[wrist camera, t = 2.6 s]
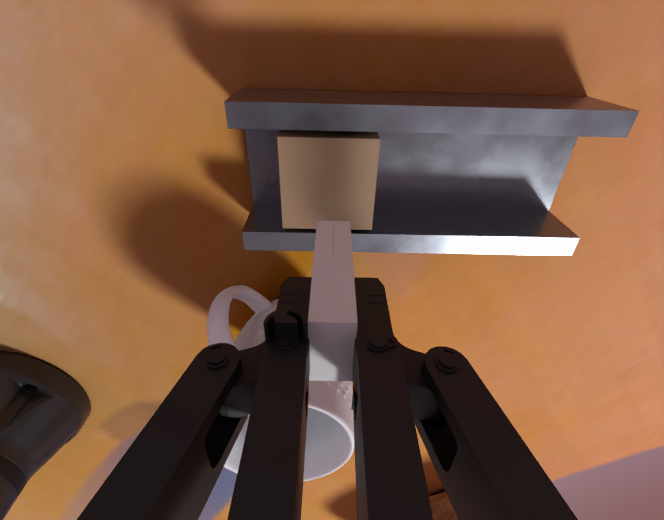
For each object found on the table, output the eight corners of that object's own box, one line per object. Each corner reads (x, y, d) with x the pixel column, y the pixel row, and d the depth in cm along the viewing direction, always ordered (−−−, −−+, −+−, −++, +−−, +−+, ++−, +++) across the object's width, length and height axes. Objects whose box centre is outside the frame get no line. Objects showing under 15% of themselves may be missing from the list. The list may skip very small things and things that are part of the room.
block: (289, 201, 29) (282, 228, 25) (285, 119, 25) (277, 136, 21) (366, 202, 29) (371, 229, 25) (373, 122, 25) (380, 139, 21)
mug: (189, 280, 34) (122, 403, 23) (285, 226, 31) (260, 339, 20) (282, 369, 41) (264, 496, 30) (367, 333, 38) (382, 460, 27)
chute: (256, 218, 30) (244, 249, 26) (242, 88, 25) (224, 101, 20) (538, 223, 30) (571, 255, 26) (587, 96, 25) (639, 111, 21)
